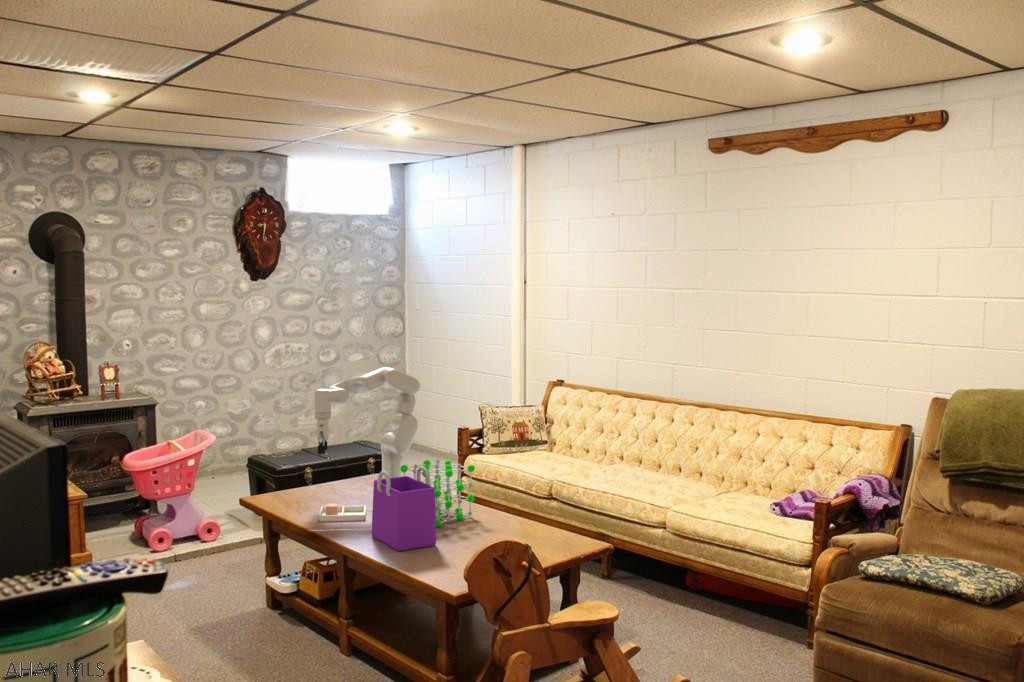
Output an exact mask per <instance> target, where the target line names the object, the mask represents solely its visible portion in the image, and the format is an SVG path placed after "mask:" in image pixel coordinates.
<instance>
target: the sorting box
mask: <svg viewBox="0 0 1024 682" xmlns="http://www.w3.org/2000/svg"><path fill="white" fill-rule="evenodd" d="M366 508H367V506H366V505H338V515H326V505H325V506H321V507H320V509H319V512H318V513H319V514H318V522H345V521H346V522H348V521H349V522H350V521H352V522H353V521H356V522H357V521H358V522H359V521H366V516H367V515H366V511H367V509H366Z"/></svg>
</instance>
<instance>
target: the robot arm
mask: <svg viewBox="0 0 1024 682" xmlns="http://www.w3.org/2000/svg"><path fill="white" fill-rule="evenodd" d="M385 386H390V387H393V388H394V390H395V391H396V393H397V396H398V399H397V404H396V407H395V409H394V412H393V414H392V417H391V420H390V427H391V428H392V429H393V430H395V431H397V432H393V431H389V432H387V433H385V434H383V436H382V437H381V439H380V450H381V471H386V472H387V473H388V474H389V477H390V478H393V477H402V473H403V472H402V471H401V469H400V468H401V466H402V465H403V464H402V462H403V461H402V456H403V455H406V454H407V453H408V451H409V450H410V448H411V446H412V444H413V441H414V439H415V437H416V433H417V429H418V426H419V423H418V419H417V418H416V416H415V415H413V412H414V409H415V406H416V395H415V394H417V393H418V392H419V391H420V389H421V385H420V381H419V380H418V379H417V378H416V377H414V376H412V375H410V374H406V373H405V372H403V371H401V370H399V369H396V368H393V367H389V366H387V367H386V366H384V367H380V368H378V369H376V370H373V371H371V372H368V373H366V374H363V375H361V376H357V377H354V378H350V379H346V380H342V381H340V382H338V383H335V384H333V385H331V386H329V387H327V388H317V389H316V390H314V420H316V440H317V441H318V443H317V454H318V455H325V454H326V451H327V450H328V440H329V439H330V420H331V419H332V405H344V404H346V403H347V402H348V401H349V399H350V395H357V394H358V395H359V394H360V395H362V394H368V393H371V392H373V391H375V390H377V389H380V388H382V387H385ZM382 479H385V476H384V475H383V476H382Z"/></svg>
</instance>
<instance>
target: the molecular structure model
mask: <svg viewBox="0 0 1024 682" xmlns="http://www.w3.org/2000/svg"><path fill="white" fill-rule="evenodd" d="M439 464H440V465H439ZM421 466H423V467H425V468H426V469H427V470H428V472H429V475H430V476H432V477H434V478H430V486H432V485H433V486H432V487H434V488H435V516H436V528H440V527H441V525H442V524H443V523H445V522H447V523H450V522H451V521H452V520H455V519H456V520H457V521H459V520H460V521H462V520H463V519H464V517H467V516H468V517H469V516H472V515H473V512H472V503H473V502H474V501H475V496H474V495H473V494H472V487H473V483H472V473H473V472H475V469H476V468H475V467H476V466H475V465H474V464H469V465H467V466H464V465H462V464H461V463H457V464H455V463H452V461H451V460H449V459H446V460H445V461H440V459H438V458H437V459H436V460H435V461H433V462H431V461H430V460H428V459H426V460H424V461H423V462H422V464H417V463H415V464H413V466H408V465H406V464H402V466H401V468H400V469H401V471H402V473H403V476H406V473H407V472H408V471H411V472H412V473H413V478H414V479H416V480H417V470H418V468H419V467H421ZM434 468H435V469H434ZM455 468H457V469H455ZM461 468H464V469H461ZM466 471H467V472H469V483H466V482H465V483H464V482H463V481H464V480H462V478H461V476H462V475H461V474H462V472H466ZM433 473H435V474H433ZM421 474H422V477H424V480H422V481H421V482H423V483H425V484H426V476H425V473H424V471H423V470H422V471H421ZM453 474H457V475H458V477H457V479H455V480H452V479H451V477H453ZM444 476H445V477H446V478H443V477H444ZM443 482H446V483H443ZM450 482H452V483H450ZM441 485H442V486H441ZM450 487H451V488H450ZM452 487H453V488H452ZM467 487H468V488H469V494H468V495H467V496H463V495H462V494H461V493H462V491H463V490H464V489H465V488H467ZM444 488H446V489H444ZM454 490H455V491H457V494H454V493H452V491H454ZM455 498H457V500H455ZM461 498H463V499H461ZM443 501H445V502H443ZM465 501H466V502H469V511H468V512H465V511H463V508H462V507H461V504H462V503H463V502H465ZM453 504H458V505H457V507H456V508H454V509H453V508H452V507H453ZM445 510H446V512H443V511H445ZM450 511H452V512H450ZM440 514H442V515H440ZM446 516H447V517H446ZM443 517H446V518H443ZM441 520H442V521H441Z"/></svg>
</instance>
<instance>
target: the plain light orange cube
mask: <svg viewBox="0 0 1024 682" xmlns="http://www.w3.org/2000/svg"><path fill="white" fill-rule="evenodd" d="M325 506H326V515H338V506H339V503H326V505H325Z"/></svg>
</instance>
